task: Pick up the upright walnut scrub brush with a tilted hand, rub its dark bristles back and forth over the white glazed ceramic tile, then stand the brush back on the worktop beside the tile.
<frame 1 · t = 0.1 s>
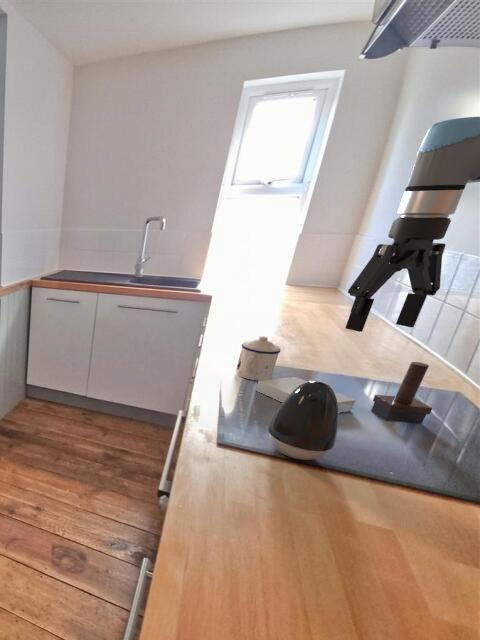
hand: (379, 328, 85), 22 cm above the countertop, tool pointing down, fingers open, 13 cm apart
white tile: (300, 400, 103), on the countertop
teacup with lid: (250, 377, 118), on the countertop
scrub brush: (395, 417, 95), on the countertop
dark grey egg-shaped speaker: (293, 453, 81), on the countertop
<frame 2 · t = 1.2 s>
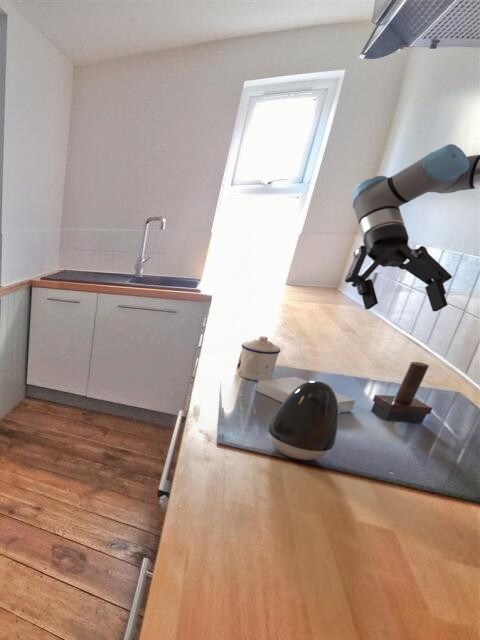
hand: (405, 307, 94), 24 cm above the countertop, tool tilted 45°, fingers open, 13 cm apart
nothing on the countertop moved.
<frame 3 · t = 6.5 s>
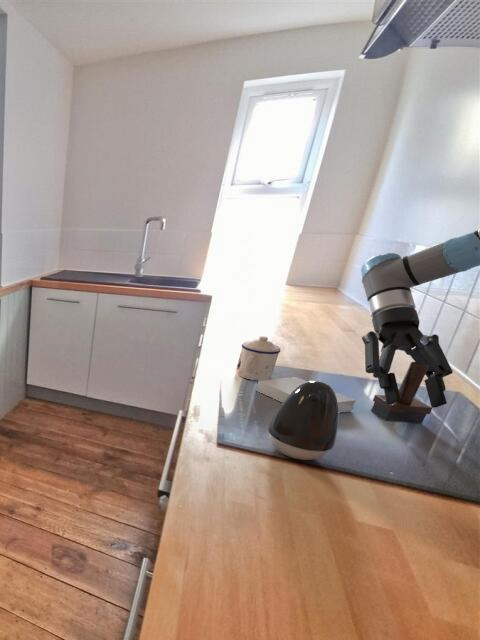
hand: (416, 403, 90), 5 cm above the countertop, tool tilted 45°, fingers closed on scrub brush, 8 cm apart
scrub brush: (395, 417, 95), on the countertop, touching gripper
everything else where it was.
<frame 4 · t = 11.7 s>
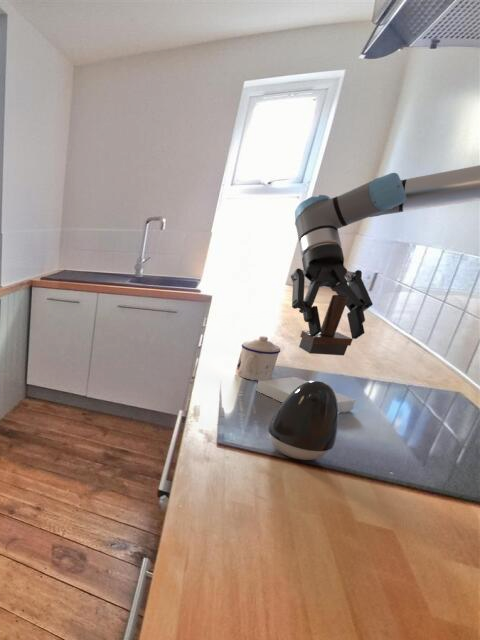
hand: (336, 334, 93), 18 cm above the countertop, tool tilted 45°, fingers closed on scrub brush, 8 cm apart
scrub brush: (320, 351, 98), point 13 cm above the countertop, touching gripper
everything else where it was.
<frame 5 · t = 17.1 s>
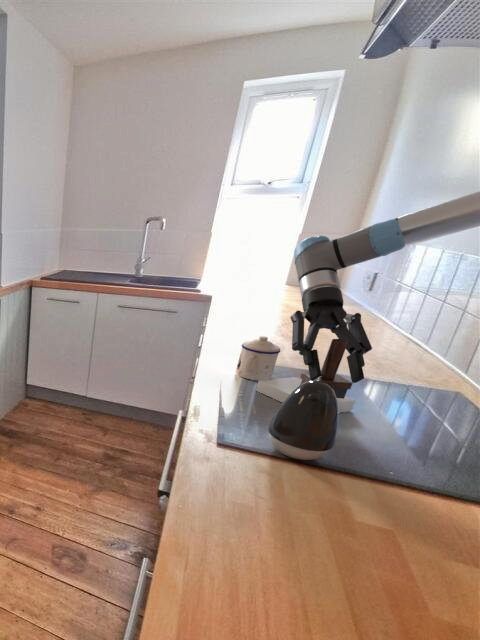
hand: (336, 378, 93), 9 cm above the countertop, tool tilted 45°, fingers closed on scrub brush, 8 cm apart
scrub brush: (320, 393, 98), point 4 cm above the countertop, touching gripper
everything else where it was.
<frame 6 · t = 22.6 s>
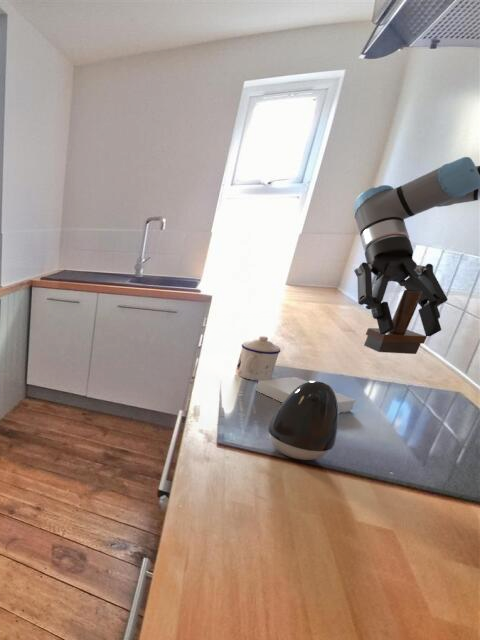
hand: (410, 331, 87), 20 cm above the countertop, tool tilted 45°, fingers closed on scrub brush, 8 cm apart
scrub brush: (389, 349, 92), point 15 cm above the countertop, touching gripper
everything else where it was.
when the fingers open (5 cm above the countertop, at t = 27.6 s): scrub brush stays where it is, on the countertop.
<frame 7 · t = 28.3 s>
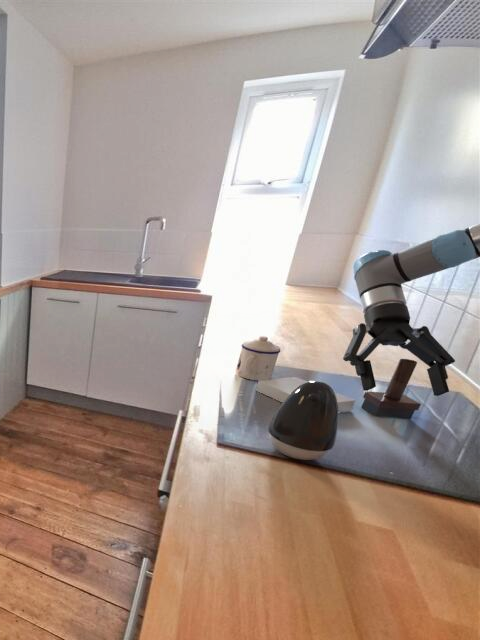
hand: (405, 391, 92), 7 cm above the countertop, tool tilted 45°, fingers open, 13 cm apart
scrub brush: (385, 413, 97), on the countertop
everything else where it was.
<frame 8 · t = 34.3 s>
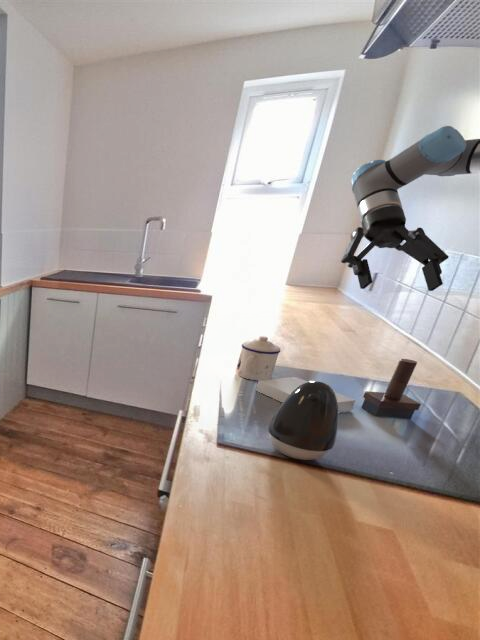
hand: (400, 286, 96), 28 cm above the countertop, tool tilted 45°, fingers open, 13 cm apart
nothing on the countertop moved.
at the end: scrub brush inside the target area (0.1 cm from its centre), on the countertop; scrub brush tilted 0°; teacup with lid moved 0.2 cm from its start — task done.
